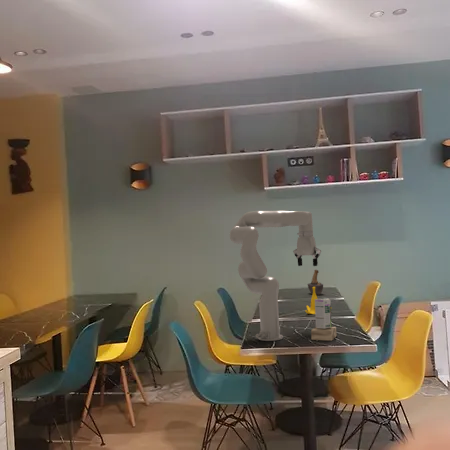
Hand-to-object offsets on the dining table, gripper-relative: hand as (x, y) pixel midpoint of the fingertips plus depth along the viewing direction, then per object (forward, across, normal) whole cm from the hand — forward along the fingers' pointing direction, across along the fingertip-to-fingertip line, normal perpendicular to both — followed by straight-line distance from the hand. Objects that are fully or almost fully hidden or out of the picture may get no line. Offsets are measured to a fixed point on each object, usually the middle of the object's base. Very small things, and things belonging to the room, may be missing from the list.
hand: (307, 265), depth 281 cm
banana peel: (+35, -23, +45) cm, 61 cm away
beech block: (+35, +18, -16) cm, 42 cm away
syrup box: (+30, +18, -16) cm, 38 cm away
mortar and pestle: (+34, -69, +114) cm, 138 cm away
